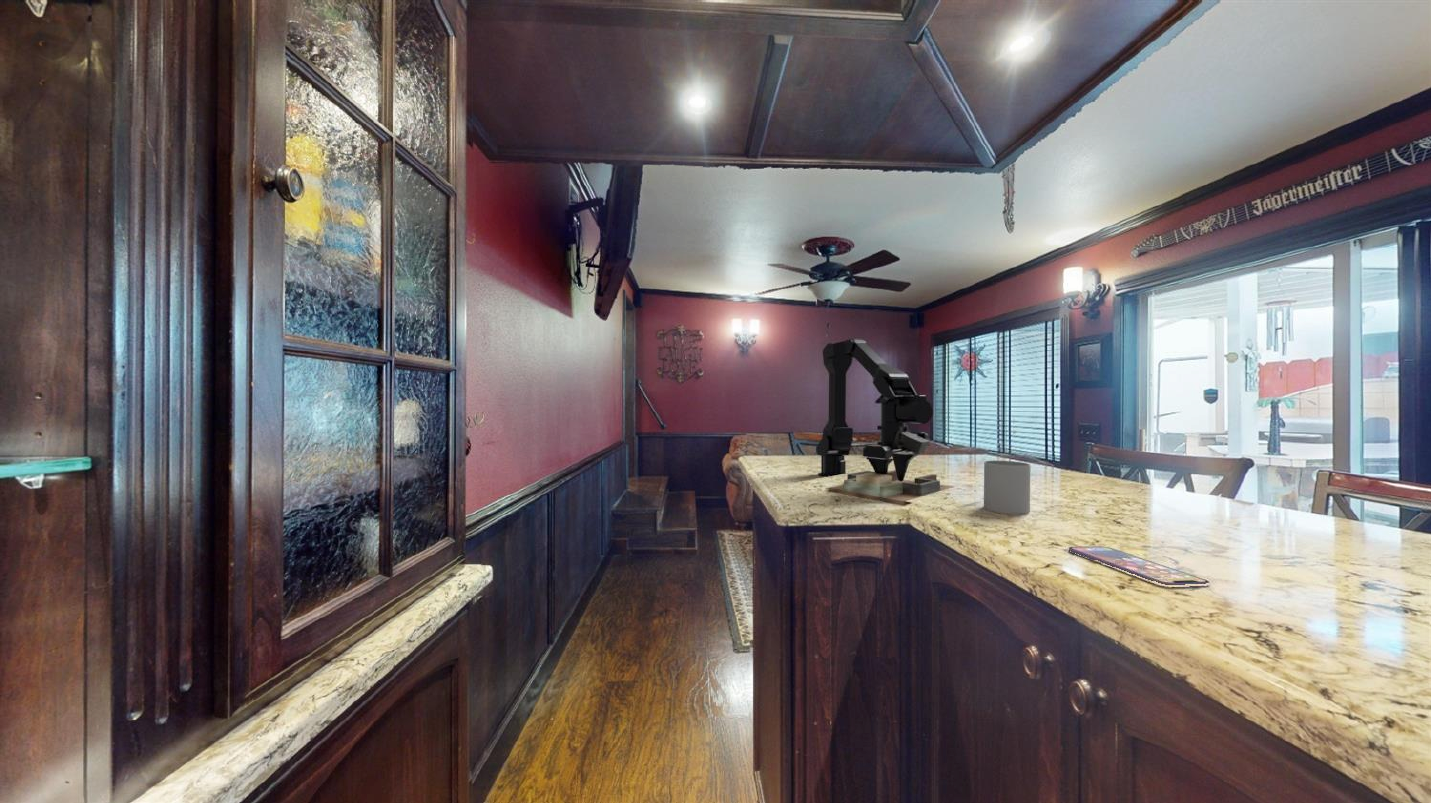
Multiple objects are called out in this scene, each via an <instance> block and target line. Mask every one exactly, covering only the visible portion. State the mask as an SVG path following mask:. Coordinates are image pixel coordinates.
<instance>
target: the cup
mask: <svg viewBox="0 0 1431 803" xmlns="http://www.w3.org/2000/svg"><path fill="white" fill-rule="evenodd" d="M983 464H984V465H983V466H984V467H983V508H984V509H985V510H986V509H988V510H987V511H989V510H991V511H990V512H992V511H995V512H994V513H997V512H999V513H998V514H1003V513H1005V514H1004V515H1011V516H1013V515H1014V516H1015V515H1018V516H1022V515H1029V514H1030V513H1031V464H1030V463H1027V462H1020V461H1012V460H1011V461H1010V460H984V462H983Z"/></svg>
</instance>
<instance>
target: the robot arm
mask: <svg viewBox="0 0 1431 803" xmlns="http://www.w3.org/2000/svg"><path fill="white" fill-rule="evenodd" d="M822 359H823V365H824V367H825V369H826V370H827V372H828V422H827V423H826V425H824V428H823V430H822V437H821V439H820V441H819V442H818V444H817V445H816V447H815V451H816V455H818V456H820V460H821V461H820V462H821V463H820V464H821V465H820V470H821V472H817V475H820V476H825V477H826V476H827V477H834V476H840V475H844V474H845V475H846V474H847V472H846V466H847V465H846V464H847V462H846V460H845V456H850V452H851V448H852V444H853V441H854V438H853V435H854V434H853V432H854V429H853V427H852V426H851V427H849V425H848V422H846V421H847V420H846V419H847V416H846V415H847V412H846V411H847V372H848V371H849V369H850V368H851V366H852V364H853V359H855V360H856V361H857V362H858V363H859V364H860V365H861V366H862V367H863V368H864V369H865V371H867V372H868V373H869V375H870V376H871V378H872V384H873V386H874V387H875V389H876V391H877V392H878V393H879V394H880V395H879V397H878V398H877V399H875V401H874V404H880V425H877V426H876V427H877V431H879V430H880V440H879V441H877V444H866V445H865V446H864V447H863V448H862V457H865V458H866V460H868V462H869V464H870V465H871V467H872V468H873V472H875V473H877V474H884V475H887V473H888V472H889V465H890V464H891V463H892V462H893V464H894V465H893V466H894V470H896V474H897V477H898V480H899V481H903V480H905V476H906V474H907V470H908V467H909V464H910V462H911V461H912V460H913V459H915V458H916V457H917V456H918V455H919V454H920V453H922V454H925V452H926V450H927V448H928V447H930V445H931V443H930V441H931V440H930V436H929V433H926V432H925V431H924V432H923V431H922V432H919V433H918V434H917V433H912V432H910V426H909V425H906V423H907V424H908V423H909V424H916V425H917V424H918V425H925V424H928V423H929V422H930V421H931V420H932V417H933V414H934V410H933V408H932V404H931V403H930V402H929V401H928V400H927V396H926V395H925V394H924V395H923V394H922V395H921V394H918V393H917V392H916V390H915V388H914V386H913V385H912V383H911V381H910V377H909V376H908V374H907V373H905V372H904V371H902V370H900V369H899V368H897V367H893V366H891V365H889V363H887V362H885V361H884V360H883V359H882V357H880V356H879V354H877V353H876V352H875V351H874V350H873V349H872V348H871V347H870V346H869V345H868V344H867V341H865V340H864V339H861V338H850V339H846V340H844V341H838V342H829V343H827V344H826V345H825V347H824V348H823V350H822Z"/></svg>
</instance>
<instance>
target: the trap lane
mask: <svg viewBox="0 0 1431 803" xmlns="http://www.w3.org/2000/svg"><path fill="white" fill-rule="evenodd" d="M869 472H870V473H875V471H874V470H872V471H871V470H864V471H858V472H853V473H846V474H847V479H844V481H843V484H839V485H835V486H829V487H828V490H827V491H828V493H833V494H834V493H835V494H838V493H839V495H845V496H850V497H856V498H861V499H865V498H867V499H866V500H870V499H871V501H872V500H873V501H876V502H882V503H888V504H892V505H898V506H903V507H905V506H907V505H911V504H914V502H912V501H910V500H914V499H917V498H920V497H923V496H927V495H931V494H934V493H938V492H942V491H945V490H948V489H949V490H950V489H952V488H954V486H951V485H945V484H941V482H940V481H941V480H939V479H937V477H938V475H937V474H934V473H931V474H926V475H923V476H918V477H914V480H910V479H904V480H903V481H899V480H898V477H897V474H896V470H895V469H894V470H890V471H889V470H888V473H887V475H891V476H892V483H891V484H887V485H877V484H870V483H864V482H858V481H856V475H859V474H864V473H869Z"/></svg>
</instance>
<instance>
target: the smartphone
mask: <svg viewBox="0 0 1431 803" xmlns="http://www.w3.org/2000/svg"><path fill="white" fill-rule="evenodd" d="M1069 551H1071V552H1073V553H1076V554H1079V555H1081V556H1084V557H1087V558H1089V559H1092V560H1098V561H1100V562H1102V563H1105V564H1107V565H1110V566H1112V567H1116V568H1119V569H1121V570H1124V571H1127V572H1129V573H1131V574H1135V575H1137V576H1140V577H1142V578H1145V579H1148V580H1151V581H1156V582H1158V583H1161V584H1165V585H1185V584H1206V583H1209V584H1210V581H1209V580H1207V579H1204V578H1201V577H1199V576H1196V575H1193V574H1189V573H1188V572H1187V573H1186V572H1183V571H1181V570H1178V569H1175V568H1173V567H1169V566H1166V565H1163V564H1160V563H1156V562H1154V561H1151V560H1149V559H1148V560H1147V559H1145V558H1142V557H1138V556H1136V555H1133V554H1130V553H1127V552H1125V551H1121V550H1118V549H1115V548H1112V547H1109V546H1069V547H1068V552H1069ZM1073 553H1072V554H1073ZM1081 556H1080V557H1081Z"/></svg>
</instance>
